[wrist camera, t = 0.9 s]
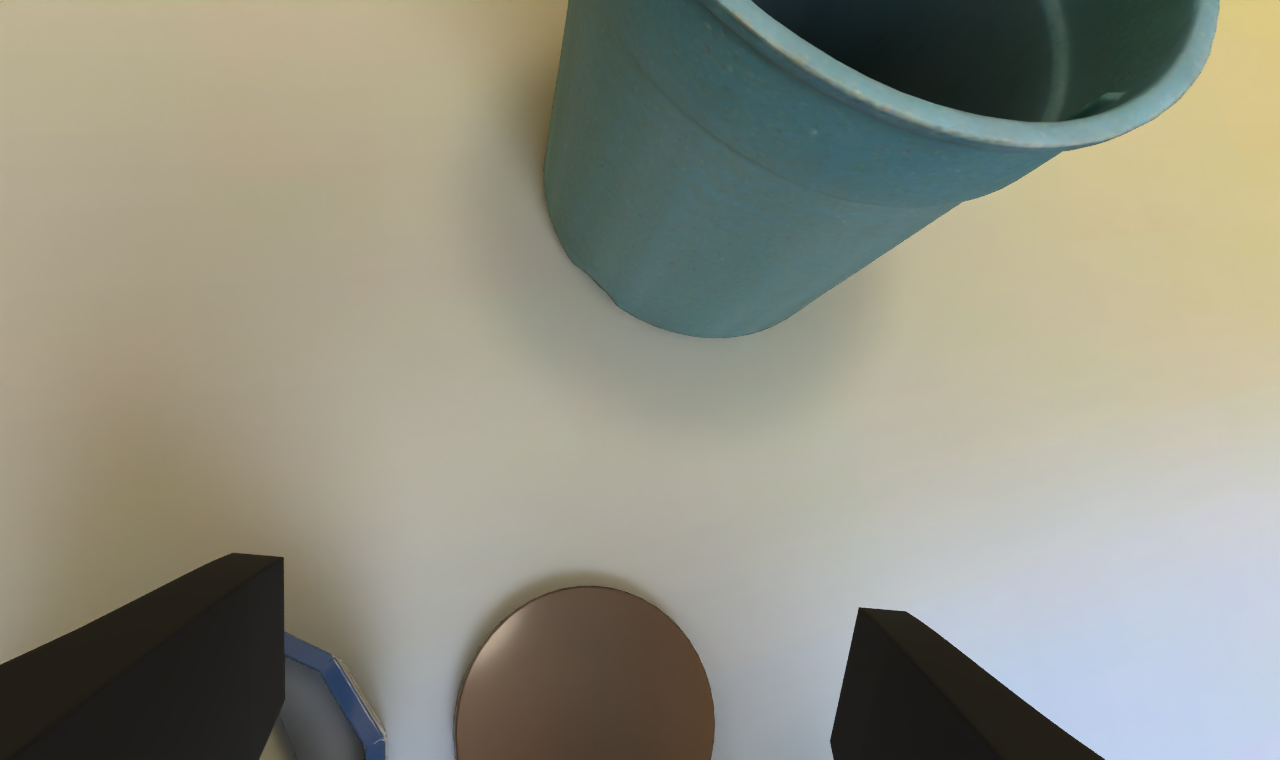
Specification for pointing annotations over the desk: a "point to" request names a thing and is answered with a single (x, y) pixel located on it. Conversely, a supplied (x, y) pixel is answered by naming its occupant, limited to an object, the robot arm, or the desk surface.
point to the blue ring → (342, 693)
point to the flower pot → (824, 132)
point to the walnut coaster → (585, 684)
